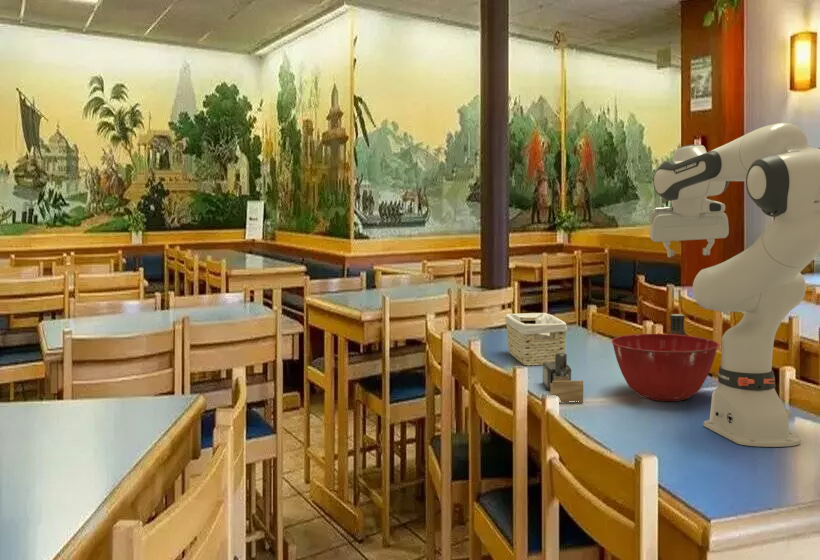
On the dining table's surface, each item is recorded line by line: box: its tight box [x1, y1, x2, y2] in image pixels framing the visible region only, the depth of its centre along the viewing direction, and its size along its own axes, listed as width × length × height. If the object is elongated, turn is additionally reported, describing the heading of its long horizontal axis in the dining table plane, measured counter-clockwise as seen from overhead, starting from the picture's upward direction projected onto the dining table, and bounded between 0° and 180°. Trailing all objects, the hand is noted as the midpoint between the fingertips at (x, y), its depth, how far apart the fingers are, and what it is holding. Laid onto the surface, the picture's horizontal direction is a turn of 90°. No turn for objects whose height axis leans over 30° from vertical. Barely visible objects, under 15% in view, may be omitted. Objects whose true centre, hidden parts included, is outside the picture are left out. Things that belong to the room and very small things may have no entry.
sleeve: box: [542, 362, 572, 391], centre depth 219 cm, size 9×7×6 cm
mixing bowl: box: [610, 333, 720, 402], centre depth 207 cm, size 28×28×16 cm
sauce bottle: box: [667, 313, 687, 336], centre depth 225 cm, size 6×6×20 cm
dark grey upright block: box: [551, 352, 569, 383], centre depth 215 cm, size 12×4×10 cm, turn 178°
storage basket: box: [505, 312, 568, 367], centre depth 258 cm, size 24×16×15 cm
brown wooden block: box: [550, 380, 584, 403], centre depth 202 cm, size 4×8×6 cm, turn 88°
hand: (688, 255), depth 202 cm, fingers open, 8 cm apart
